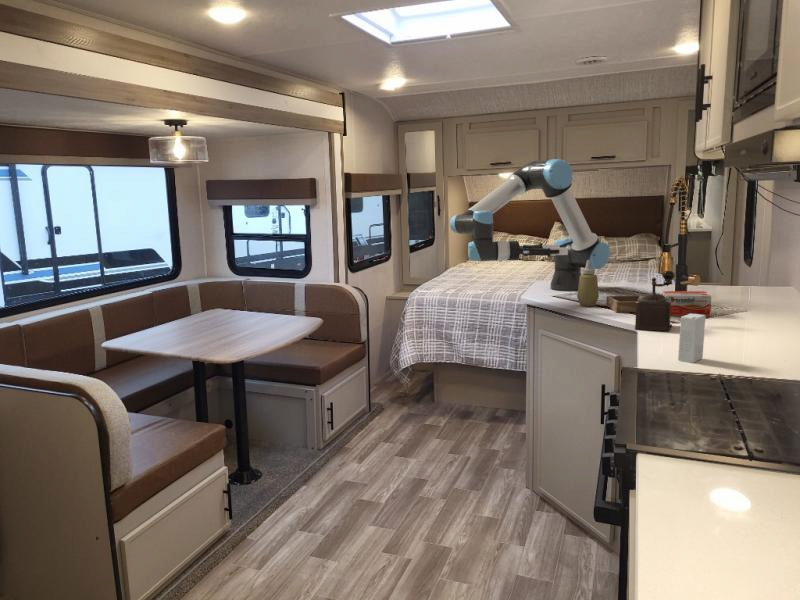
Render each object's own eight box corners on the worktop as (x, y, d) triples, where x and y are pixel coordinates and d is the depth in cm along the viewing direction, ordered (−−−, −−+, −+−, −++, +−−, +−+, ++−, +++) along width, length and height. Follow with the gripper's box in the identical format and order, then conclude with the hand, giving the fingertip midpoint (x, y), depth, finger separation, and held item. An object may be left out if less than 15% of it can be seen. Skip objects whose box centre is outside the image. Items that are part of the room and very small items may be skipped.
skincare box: (686, 356, 169) (689, 312, 167) (703, 358, 166) (706, 314, 164) (677, 360, 165) (679, 316, 163) (694, 363, 162) (696, 318, 160)
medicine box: (664, 316, 220) (665, 294, 219) (660, 312, 228) (661, 290, 227) (710, 317, 217) (711, 295, 215) (705, 312, 224) (706, 291, 223)
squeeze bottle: (572, 305, 246) (573, 259, 242) (588, 303, 249) (589, 258, 246) (586, 308, 238) (587, 261, 235) (603, 306, 242) (604, 260, 239)
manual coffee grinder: (671, 332, 197) (673, 276, 193) (634, 330, 201) (636, 275, 198) (673, 322, 210) (675, 269, 207) (638, 320, 215) (640, 268, 212)
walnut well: (606, 306, 241) (606, 296, 240) (640, 305, 241) (640, 295, 240) (616, 312, 228) (617, 302, 228) (652, 312, 228) (653, 301, 227)
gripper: (503, 257, 254) (555, 255, 253) (513, 264, 229) (570, 262, 228) (503, 238, 252) (556, 237, 252) (513, 243, 228) (571, 242, 227)
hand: (563, 249), depth 240 cm, fingers open, 13 cm apart
